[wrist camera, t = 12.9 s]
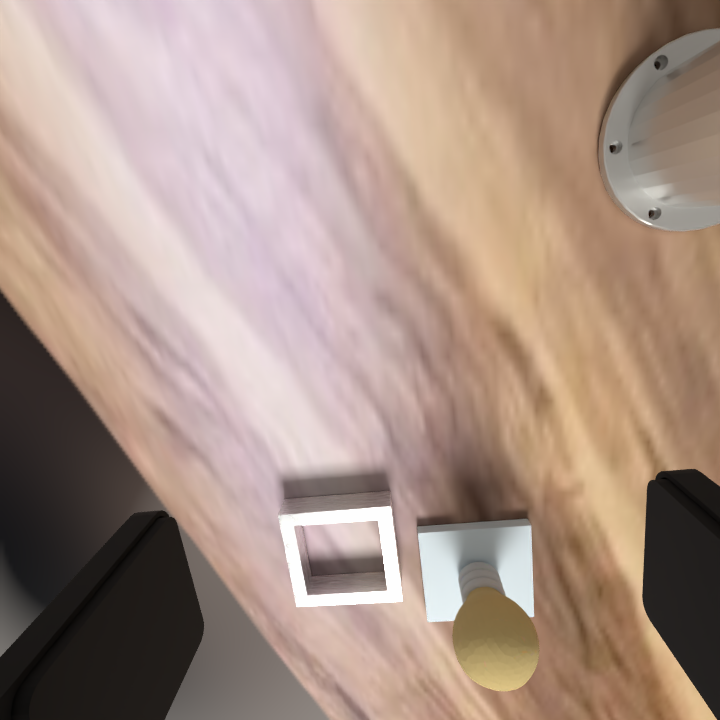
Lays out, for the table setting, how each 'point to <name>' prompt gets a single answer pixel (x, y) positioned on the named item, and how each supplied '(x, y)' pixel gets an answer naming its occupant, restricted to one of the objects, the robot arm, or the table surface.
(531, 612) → the pad
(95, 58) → the table surface
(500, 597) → the light bulb
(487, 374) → the table surface
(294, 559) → the frame
